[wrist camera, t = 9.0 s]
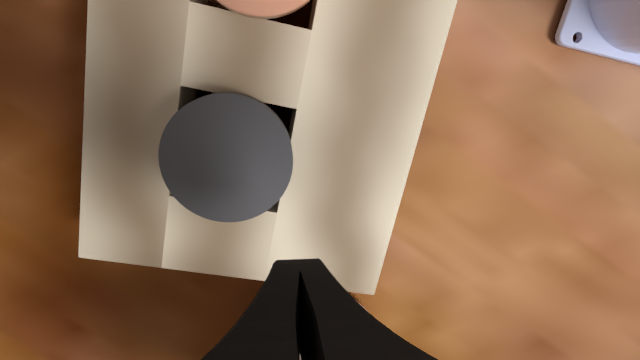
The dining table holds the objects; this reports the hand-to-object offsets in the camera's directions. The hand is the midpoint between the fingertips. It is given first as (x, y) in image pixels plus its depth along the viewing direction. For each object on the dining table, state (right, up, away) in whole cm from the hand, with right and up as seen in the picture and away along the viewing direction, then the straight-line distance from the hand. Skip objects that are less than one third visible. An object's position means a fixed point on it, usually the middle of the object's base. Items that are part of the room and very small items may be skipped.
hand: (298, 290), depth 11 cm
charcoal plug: (-4, +5, +8) cm, 11 cm away
